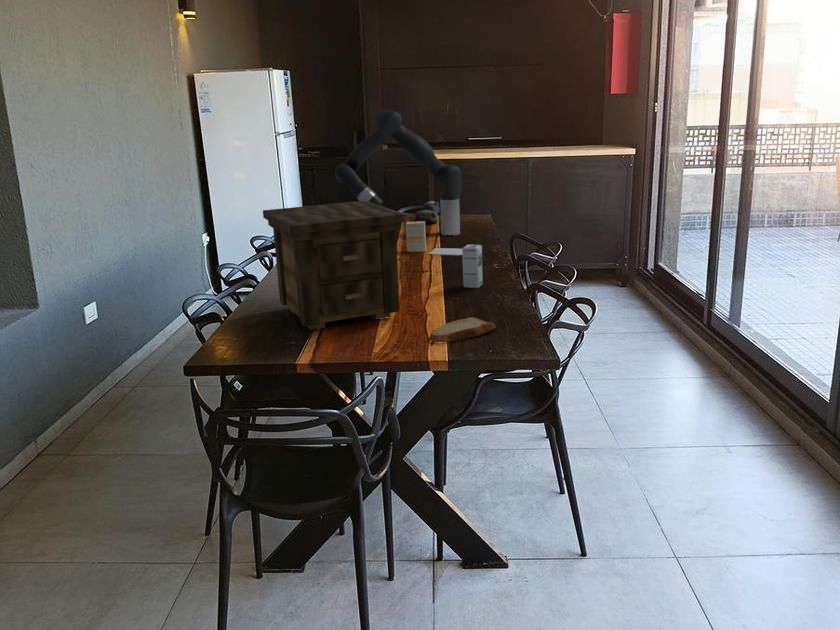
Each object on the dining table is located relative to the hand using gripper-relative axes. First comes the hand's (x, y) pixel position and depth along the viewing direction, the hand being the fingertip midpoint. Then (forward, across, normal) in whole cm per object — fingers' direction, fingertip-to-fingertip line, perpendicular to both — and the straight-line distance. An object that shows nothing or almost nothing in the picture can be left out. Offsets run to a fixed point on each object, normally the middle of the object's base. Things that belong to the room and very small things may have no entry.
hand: (397, 227), depth 321 cm
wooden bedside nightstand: (+13, -95, +2) cm, 96 cm away
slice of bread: (+44, -109, -29) cm, 121 cm away
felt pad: (+24, 0, -10) cm, 26 cm away
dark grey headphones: (+3, +72, +12) cm, 73 cm away
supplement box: (+13, 0, +2) cm, 13 cm away
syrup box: (+39, -55, -24) cm, 71 cm away
